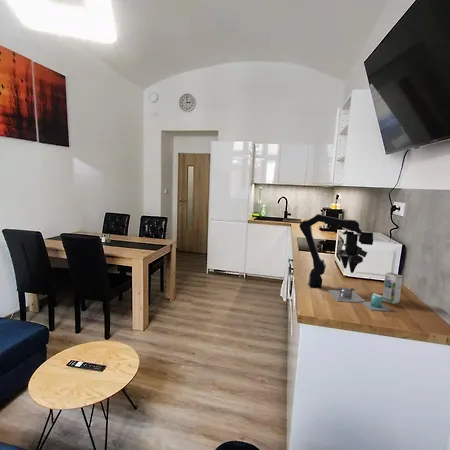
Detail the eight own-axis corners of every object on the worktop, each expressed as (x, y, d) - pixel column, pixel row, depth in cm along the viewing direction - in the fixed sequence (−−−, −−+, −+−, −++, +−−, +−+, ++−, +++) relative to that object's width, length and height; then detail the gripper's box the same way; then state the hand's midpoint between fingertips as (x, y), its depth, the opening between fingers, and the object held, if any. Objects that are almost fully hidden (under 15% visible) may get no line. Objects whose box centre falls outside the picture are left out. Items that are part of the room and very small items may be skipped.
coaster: (371, 310, 133) (371, 309, 133) (362, 302, 142) (362, 301, 142) (390, 311, 133) (390, 310, 133) (380, 303, 142) (380, 302, 142)
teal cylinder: (368, 304, 138) (369, 293, 138) (374, 303, 141) (375, 292, 140) (377, 308, 134) (379, 297, 134) (383, 306, 137) (385, 295, 136)
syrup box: (381, 300, 148) (384, 273, 146) (389, 298, 150) (392, 272, 148) (391, 304, 142) (395, 276, 141) (399, 302, 145) (403, 275, 143)
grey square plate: (337, 301, 143) (338, 291, 142) (327, 291, 157) (328, 283, 156) (365, 302, 143) (366, 293, 142) (353, 292, 156) (354, 284, 156)
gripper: (374, 247, 146) (371, 276, 148) (358, 240, 164) (355, 267, 166) (352, 245, 146) (349, 275, 148) (339, 239, 165) (336, 266, 166)
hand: (348, 270), depth 157 cm, fingers open, 9 cm apart
